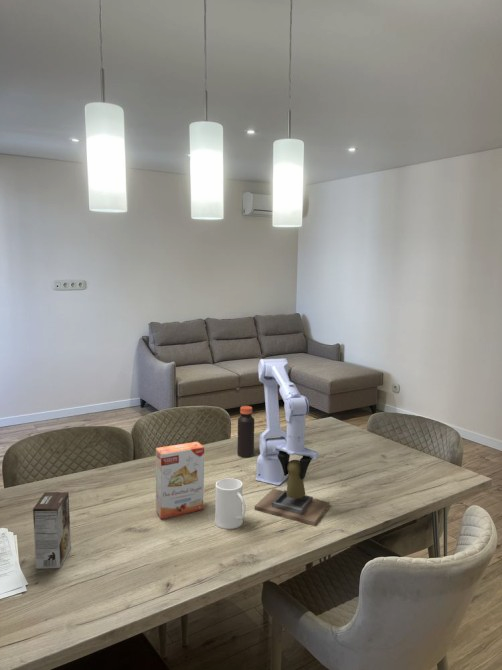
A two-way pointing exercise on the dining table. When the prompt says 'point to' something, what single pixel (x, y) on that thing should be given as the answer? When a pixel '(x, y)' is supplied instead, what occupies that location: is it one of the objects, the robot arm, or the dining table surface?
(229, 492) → the mug
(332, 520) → the dining table surface
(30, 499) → the dining table surface
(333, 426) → the dining table surface
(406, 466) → the dining table surface
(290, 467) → the cork
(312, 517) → the wooden socket base
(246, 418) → the bottle
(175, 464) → the cracker box
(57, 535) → the coffee box
